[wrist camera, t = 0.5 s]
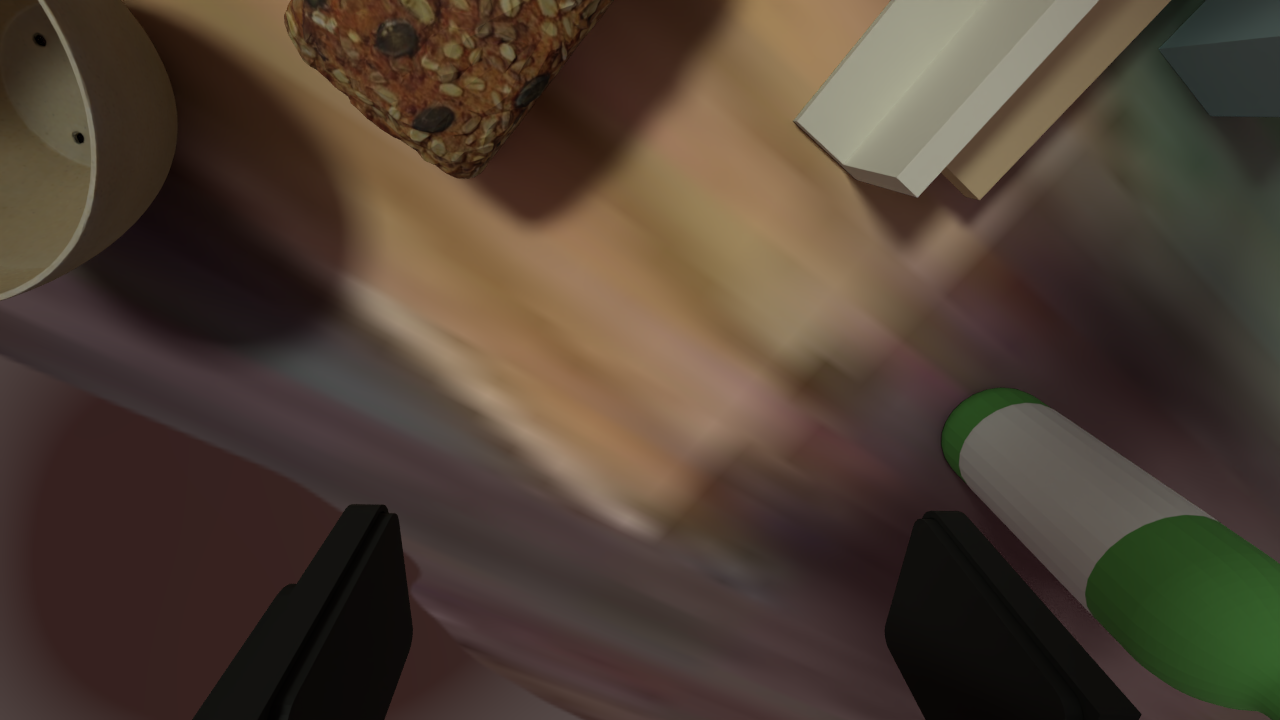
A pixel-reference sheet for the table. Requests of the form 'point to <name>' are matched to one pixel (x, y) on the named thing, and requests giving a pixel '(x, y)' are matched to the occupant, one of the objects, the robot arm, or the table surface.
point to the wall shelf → (963, 86)
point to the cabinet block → (1230, 57)
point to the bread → (442, 65)
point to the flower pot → (53, 117)
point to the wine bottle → (1127, 549)
